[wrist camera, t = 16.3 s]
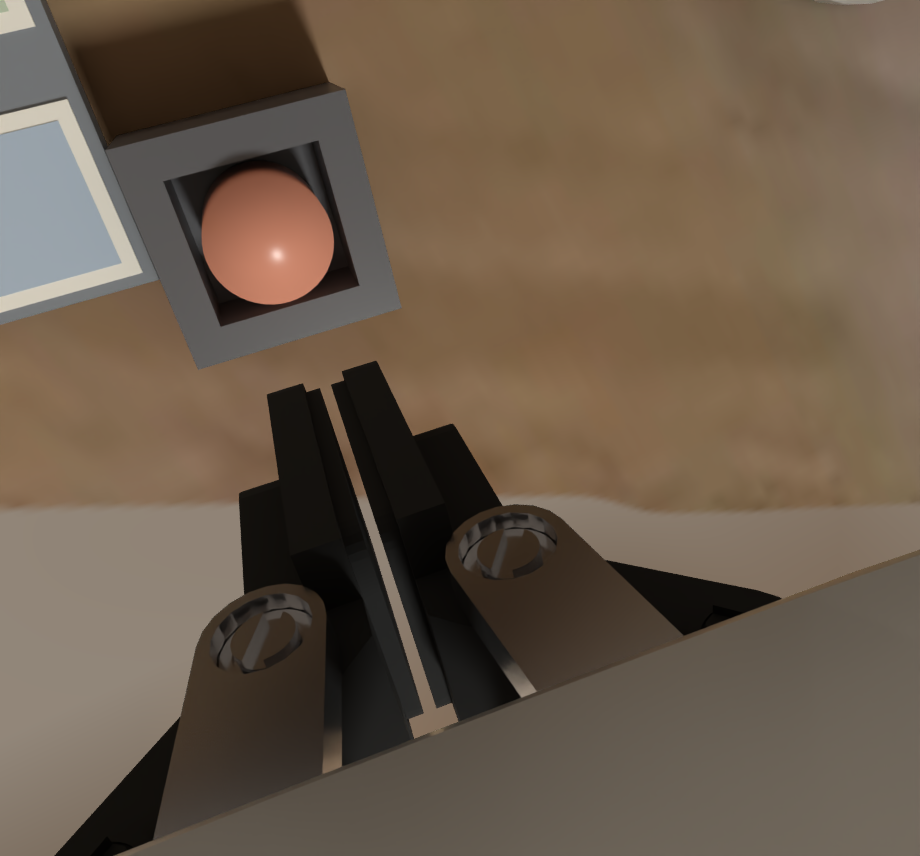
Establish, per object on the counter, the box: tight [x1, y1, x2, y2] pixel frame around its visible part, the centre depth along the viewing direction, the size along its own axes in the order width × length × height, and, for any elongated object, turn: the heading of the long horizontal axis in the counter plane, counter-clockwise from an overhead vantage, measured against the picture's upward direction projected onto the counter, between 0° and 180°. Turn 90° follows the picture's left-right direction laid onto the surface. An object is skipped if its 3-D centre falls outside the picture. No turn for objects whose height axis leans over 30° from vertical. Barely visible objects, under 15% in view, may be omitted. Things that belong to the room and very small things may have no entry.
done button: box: [202, 161, 334, 304], centre depth 25 cm, size 4×4×3 cm
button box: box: [105, 82, 401, 370], centre depth 26 cm, size 7×7×4 cm
